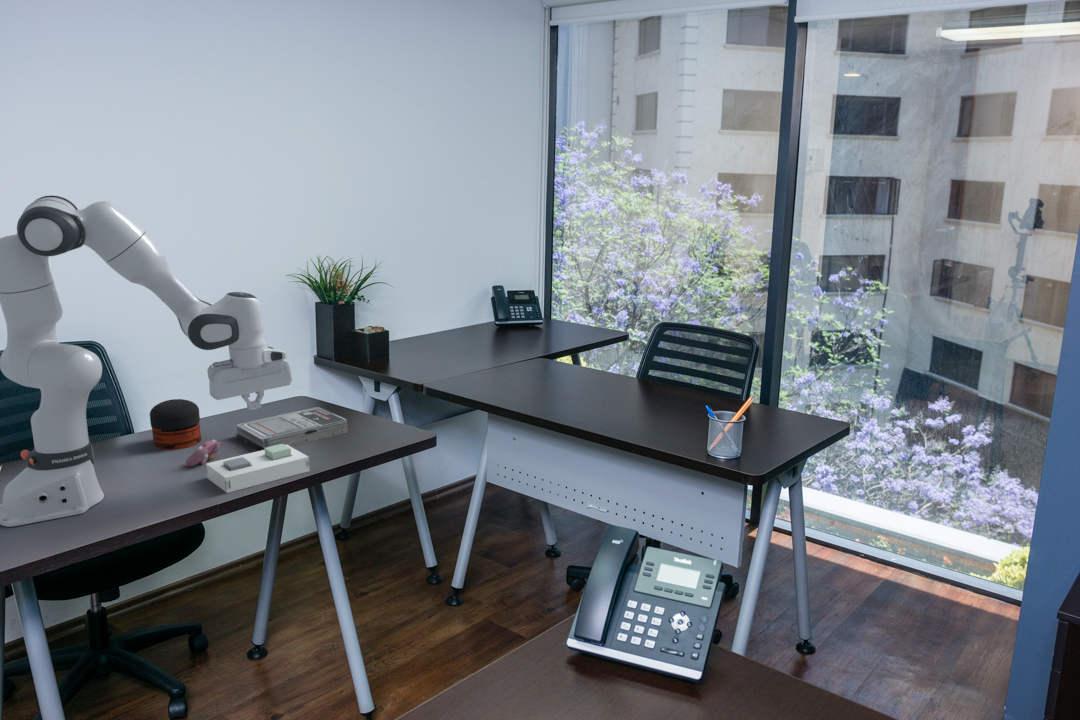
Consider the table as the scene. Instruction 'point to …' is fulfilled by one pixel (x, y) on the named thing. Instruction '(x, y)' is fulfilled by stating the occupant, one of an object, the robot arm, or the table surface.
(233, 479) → the key panel
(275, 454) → the sage key
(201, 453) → the video game controller
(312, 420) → the hard drive
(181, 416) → the oil filter
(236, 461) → the grey key
